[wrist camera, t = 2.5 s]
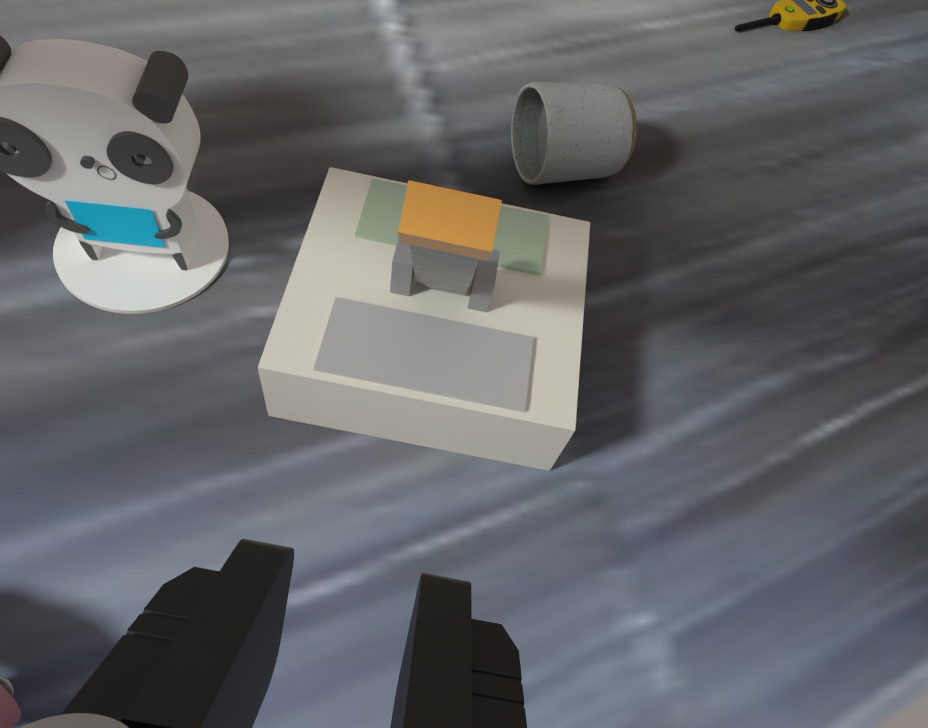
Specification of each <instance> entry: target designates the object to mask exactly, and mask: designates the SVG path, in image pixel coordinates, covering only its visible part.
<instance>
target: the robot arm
mask: <svg viewBox="0 0 928 728" xmlns="http://www.w3.org/2000/svg"><path fill="white" fill-rule="evenodd" d="M293 561H294V549H293V548H290V547H284V546H279V545H274V544H268V543H263V542H258V541H252V540H247V539H242V540H240V542H239V543H238V544H237V546H236V547H235V549H234V550H233V552H232V553H231V555H230V556H229V558H228V559H227V561H226V562H225V564H224V565H223V567H222V568H221V570H220V571H214V570H209V569H203V568H198V567H193V568H192V569H190V570H188V571H186V572H184V573H183V574H181V575H179V576H177V577H176V578H174V579H172V580H170V581H169V582H167V583H165V584H163V585H162V587H161V588H160V589H159V591H158V592H157V593H156V594H155V596H154V597H153V598H152V599H151V601H150V602H149V603H148V605H147V606H146V607H145V608H144V611H143V614H140V615H139V616H138V617H137V619H136V620H135V621H134V622H133V624H132V625H131V626H130V627H129V629H128V631H127V634H126V636H125V635H123V636H122V638H121V639H120V640H119V641H118V643H117V644H116V645H115V647H114V648H113V649H112V650H111V652H110V653H109V654H108V655H107V657H106V658H105V659H104V661H103V662H102V663H101V664H100V666H99V667H98V668H97V669H96V671H95V672H94V673H93V675H92V676H91V677H90V678H89V680H88V681H87V682H86V683H85V685H84V686H83V687H82V689H81V690H80V691H79V692H78V694H77V695H76V696H75V697H74V699H73V700H72V701H71V703H70V704H69V705H68V706H67V708H66V709H65V710H64V711H63V713H62V714H61V715H57V716H52V717H48V718H45V719H41V720H38V721H35V722H32V723H30V724H27V725H25V726H23V727H21V728H252V726H253V724H254V721H255V719H256V717H257V714H258V712H259V709H260V707H261V704H262V702H263V699H264V697H265V695H266V692H267V689H268V687H269V684H270V681H271V678H272V674H273V671H274V667H275V664H276V660H277V656H278V651H279V646H280V641H281V635H282V629H283V623H284V617H285V611H286V604H287V598H288V592H289V586H290V580H291V574H292V568H293ZM521 679H522V677H521V668H520V659H519V650H518V649H517V647H516V646H515V644H514V643H513V641H512V640H511V638H510V637H509V635H508V633H507V632H506V630H505V629H504V627H503V626H502V624H497V623H491V622H486V621H481V620H475V619H471V582H469V581H463V580H458V579H453V578H447V577H442V576H437V575H432V574H426V573H421V576H420V580H419V585H418V589H417V594H416V599H415V603H414V608H413V613H412V618H411V622H410V627H409V632H408V636H407V641H406V646H405V651H404V655H403V660H402V665H401V670H400V675H399V680H398V685H397V691H396V696H395V702H394V708H393V714H392V721H391V728H527V723H526V714H525V708H524V695H523V686H522V684H521Z"/></svg>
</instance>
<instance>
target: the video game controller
mask: <svg viewBox="0 0 928 728" xmlns="http://www.w3.org/2000/svg"><path fill="white" fill-rule="evenodd" d="M13 692H14V689H13V687H12V684H11V683H10V681H9V680H8V679H6V678H4V677H0V728H14V726H15V725H16V724H17V723H18V722H19V721H20V719H21V710H20V708H19V706H18V704H17V702H16V700H15V699H14V698H13V697H12V695H13Z"/></svg>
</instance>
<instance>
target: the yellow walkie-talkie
mask: <svg viewBox="0 0 928 728" xmlns="http://www.w3.org/2000/svg"><path fill="white" fill-rule="evenodd" d="M845 8H846V5H845V4H844V2H843V1H842V0H780V1H778V2H777V3H775V5H774V6H773V7H772V9H771V11H770V13H769V18H765V19H761V20H757V21H752V22H748V23H744V24H740V25H737V26H735V30H736V31H740V30H744V29H748V28H752V27H756V26H761V25H765V24H769V23H773V24H774V25H776V24H777V25H778V26H779V27H780V28H782V29H784V30H787V31H798V30H803V31H811V30H817V29H821V28H824V27H827V26H829V25H831V24H832V23H833V22H834V21H836V20H837V19H839V18H840V16H841V15H842V13H843V12H844V10H845Z"/></svg>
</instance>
